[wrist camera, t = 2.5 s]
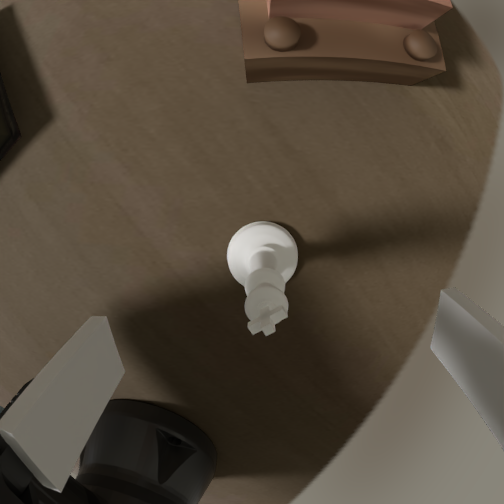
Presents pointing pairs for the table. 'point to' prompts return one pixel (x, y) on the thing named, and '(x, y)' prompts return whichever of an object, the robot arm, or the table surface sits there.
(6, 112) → the diary
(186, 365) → the table surface
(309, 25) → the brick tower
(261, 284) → the chess piece
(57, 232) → the table surface
